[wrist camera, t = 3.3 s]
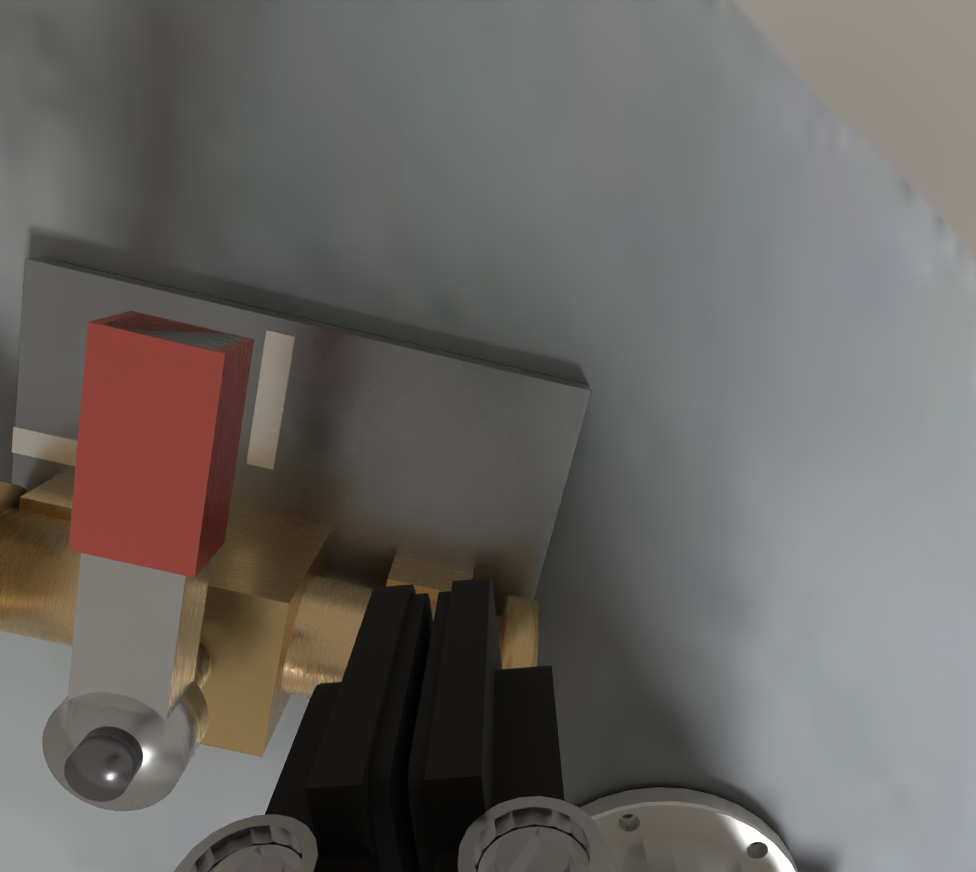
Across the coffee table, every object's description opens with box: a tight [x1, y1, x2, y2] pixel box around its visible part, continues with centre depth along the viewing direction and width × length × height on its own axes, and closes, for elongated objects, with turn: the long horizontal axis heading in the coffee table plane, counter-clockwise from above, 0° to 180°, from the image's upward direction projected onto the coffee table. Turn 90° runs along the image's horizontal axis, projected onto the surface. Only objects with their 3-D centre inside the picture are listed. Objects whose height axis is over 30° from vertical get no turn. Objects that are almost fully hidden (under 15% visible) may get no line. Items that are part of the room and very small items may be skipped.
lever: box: [43, 311, 254, 811], centre depth 19 cm, size 4×13×3 cm, turn 167°
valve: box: [0, 257, 591, 757], centre depth 25 cm, size 20×14×9 cm
